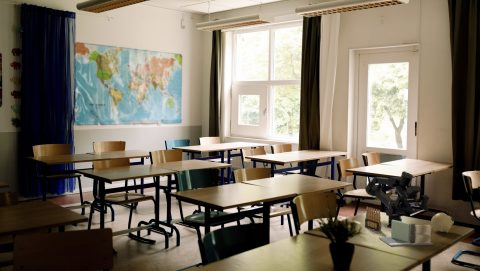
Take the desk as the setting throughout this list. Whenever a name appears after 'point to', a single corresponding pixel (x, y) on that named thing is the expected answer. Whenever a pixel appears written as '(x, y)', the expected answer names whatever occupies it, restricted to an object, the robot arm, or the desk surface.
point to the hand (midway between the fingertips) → (420, 211)
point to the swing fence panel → (400, 230)
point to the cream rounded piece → (442, 222)
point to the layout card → (399, 242)
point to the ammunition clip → (373, 219)
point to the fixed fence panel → (420, 233)
